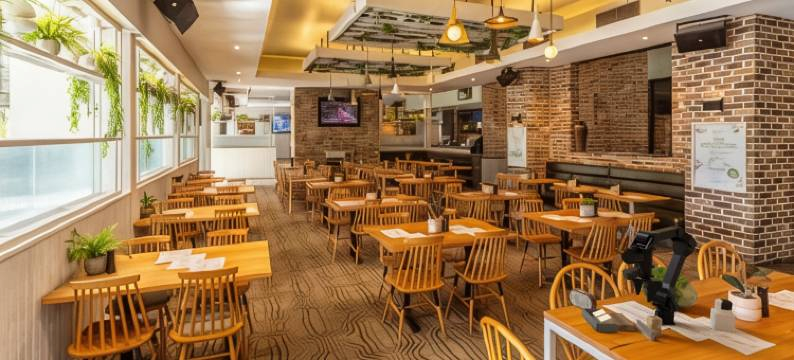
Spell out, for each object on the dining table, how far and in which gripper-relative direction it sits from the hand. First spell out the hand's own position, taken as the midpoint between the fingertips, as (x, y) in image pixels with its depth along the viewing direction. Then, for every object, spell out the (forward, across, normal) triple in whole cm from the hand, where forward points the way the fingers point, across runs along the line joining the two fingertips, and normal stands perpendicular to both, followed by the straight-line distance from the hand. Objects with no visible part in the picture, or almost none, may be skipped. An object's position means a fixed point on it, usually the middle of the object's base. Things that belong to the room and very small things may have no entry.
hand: (643, 298), depth 202 cm
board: (+12, -3, -8) cm, 15 cm away
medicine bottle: (+13, 0, +34) cm, 36 cm away
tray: (+12, -4, -17) cm, 21 cm away
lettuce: (+13, -26, +26) cm, 39 cm away
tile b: (+11, 0, -14) cm, 18 cm away
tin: (+13, -23, -16) cm, 31 cm away
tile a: (+11, -6, -14) cm, 19 cm away
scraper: (+12, +7, +1) cm, 14 cm away
